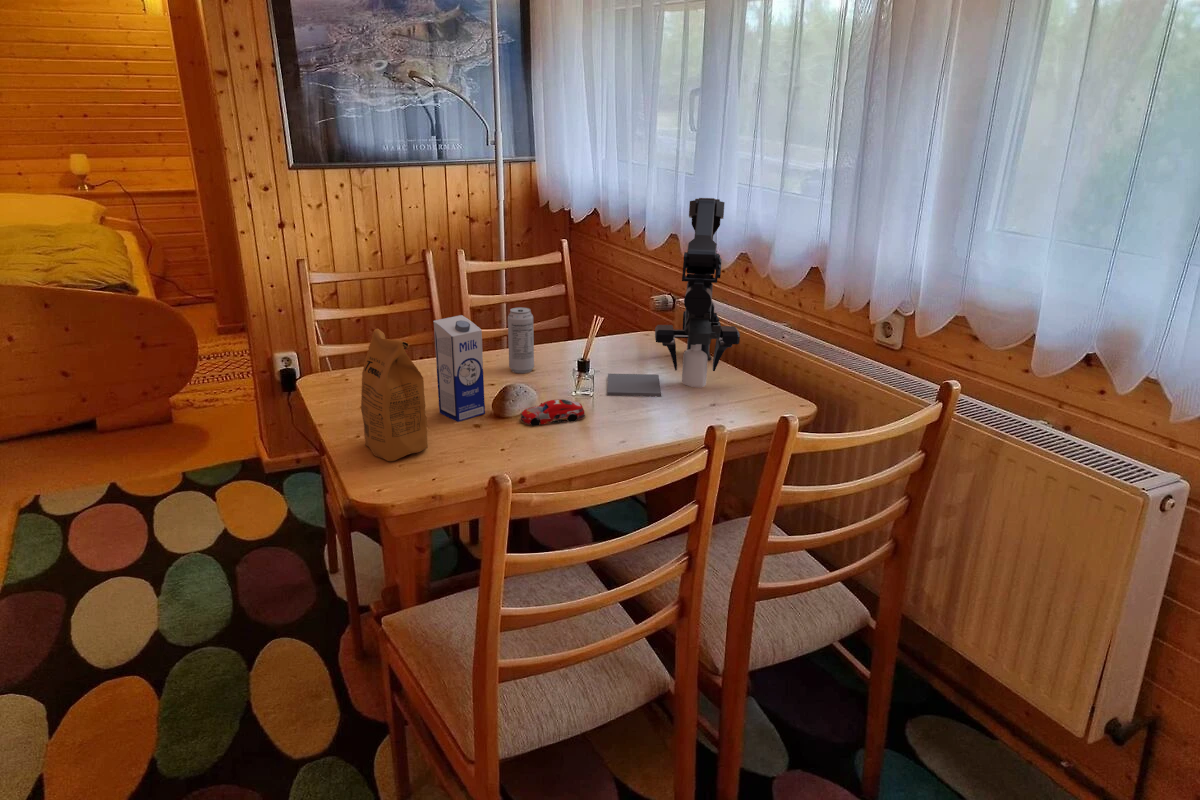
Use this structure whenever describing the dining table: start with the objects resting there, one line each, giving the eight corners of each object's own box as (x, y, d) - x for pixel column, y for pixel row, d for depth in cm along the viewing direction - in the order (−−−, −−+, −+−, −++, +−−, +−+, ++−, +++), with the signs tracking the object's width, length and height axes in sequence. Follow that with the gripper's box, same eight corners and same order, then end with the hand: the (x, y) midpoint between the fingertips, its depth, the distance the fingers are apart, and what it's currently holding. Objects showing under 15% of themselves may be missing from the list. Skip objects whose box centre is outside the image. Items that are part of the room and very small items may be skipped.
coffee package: (406, 431, 152) (398, 322, 144) (435, 453, 143) (427, 337, 135) (357, 443, 146) (345, 330, 138) (383, 466, 137) (372, 347, 129)
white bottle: (695, 379, 183) (698, 330, 179) (708, 387, 178) (711, 337, 174) (679, 382, 181) (682, 332, 177) (691, 389, 177) (695, 339, 172)
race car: (523, 429, 155) (523, 410, 153) (518, 419, 159) (517, 401, 158) (586, 422, 158) (587, 403, 157) (579, 412, 163) (579, 394, 162)
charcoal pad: (607, 376, 184) (608, 373, 184) (658, 377, 184) (658, 374, 184) (607, 395, 172) (607, 392, 172) (661, 396, 172) (661, 393, 172)
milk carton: (466, 405, 166) (462, 313, 159) (485, 413, 161) (482, 320, 154) (438, 413, 161) (432, 319, 154) (457, 422, 156) (452, 326, 149)
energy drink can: (533, 366, 191) (532, 306, 186) (534, 373, 186) (533, 312, 180) (508, 366, 190) (507, 307, 185) (509, 374, 185) (507, 313, 180)
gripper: (658, 312, 166) (655, 381, 171) (746, 313, 165) (740, 382, 171) (656, 300, 176) (653, 365, 182) (738, 301, 176) (733, 367, 181)
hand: (694, 370), depth 179 cm, fingers closed on white bottle, 8 cm apart
